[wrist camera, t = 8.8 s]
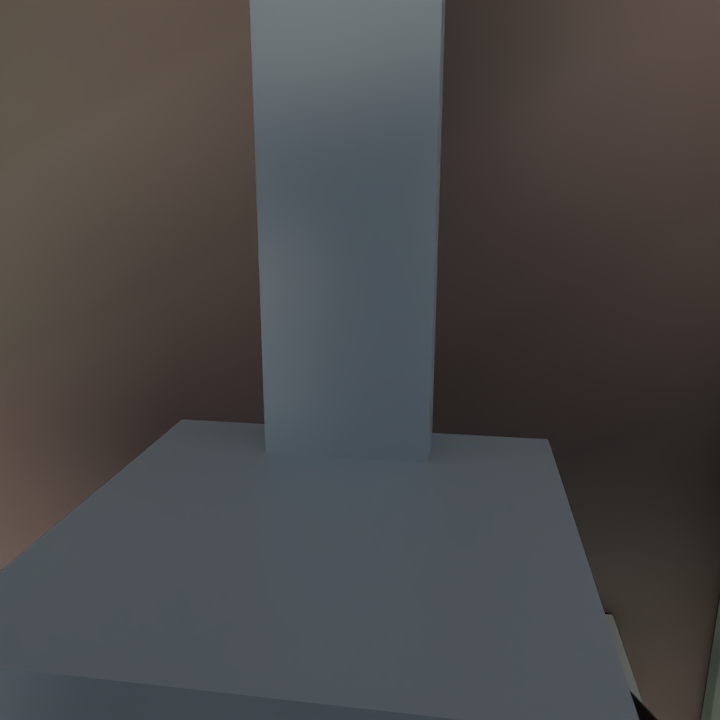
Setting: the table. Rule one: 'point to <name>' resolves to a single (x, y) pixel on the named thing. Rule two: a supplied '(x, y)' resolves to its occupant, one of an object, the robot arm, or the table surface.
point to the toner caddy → (324, 462)
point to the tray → (713, 678)
